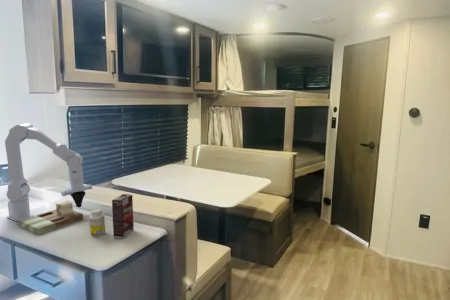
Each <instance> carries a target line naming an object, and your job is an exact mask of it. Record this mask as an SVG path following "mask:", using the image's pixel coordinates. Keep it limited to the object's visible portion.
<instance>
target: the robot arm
mask: <svg viewBox="0 0 450 300" xmlns="http://www.w3.org/2000/svg"><path fill="white" fill-rule="evenodd" d="M25 140H36V141H37V142H40V143H41V144H42V145H45V146H46V147H48V148H49V149H51V150H52V154H54V155H55V156H56V157H58V158H59V159H61V160H62V161H64V162H66V165H67V166H68V168H69V169H68V172H69V173H68V174H69V184H70V188H68V189H65V190H63V191H61V196H62V197H67V196H69V195H70V196H71V198H72V199H73V202H74V203H75V204H74V205H75V207H76V208H81V207H82V204H83V200H84V197H85V195H86V191H87V190H93V185H92V184H86V185H85V184H84V174H83V173H84V171H83V163H84V158H83V156H82V155H81V154H80V153H78V152H76V151H74V150H72V149H70V148H68V145H66V144H65V143H64V144H62V143H57V142H55V141H54V140H53V139H52V138H50V137H49V136H47V134H45V133H44V132H43V131H42V130H40V129H39V128H37V126H34V125H32V124H31V123H28V122H27V123H23V124H16V125H14V126H13V127H11V128H10V129H9V130H8V135H7V136H6V138H5V140H4V145H5V153H6V160H7V166H8V173H9V181H8V184H7V191H6V197H7V199H8V201H7V202H8V203H7V209H8V210H7V211H8V215H7V216H6V218H7V219H10V220H12V221H14V222H19V220H22V219H26V218H29V217H32V216H35V215H34V214H32V213H31V210H30V208H31V207H30V199H29V195H28V194H29V193H30V191H31V187H30V186H29V184H28V181H27V179H26V178H25V176H24V168H23V159H22V154H21V152H22V151H21V146H20V145H21V144H22V143H23V142H24V141H25Z"/></svg>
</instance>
